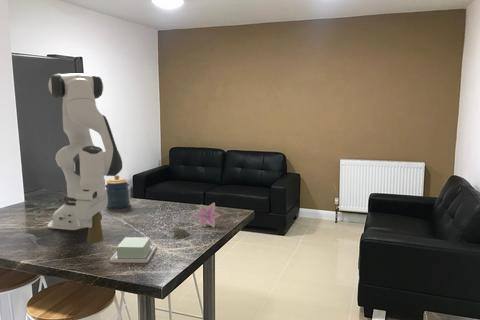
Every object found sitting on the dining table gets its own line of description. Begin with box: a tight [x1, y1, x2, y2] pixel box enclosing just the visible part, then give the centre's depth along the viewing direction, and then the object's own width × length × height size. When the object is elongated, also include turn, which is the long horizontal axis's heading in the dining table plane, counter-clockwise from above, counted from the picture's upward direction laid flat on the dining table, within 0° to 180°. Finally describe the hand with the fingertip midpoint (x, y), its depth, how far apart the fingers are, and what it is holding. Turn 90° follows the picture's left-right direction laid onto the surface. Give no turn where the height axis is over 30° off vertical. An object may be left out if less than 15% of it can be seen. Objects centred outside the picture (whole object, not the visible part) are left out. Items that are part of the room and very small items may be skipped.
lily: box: [192, 202, 221, 228], centre depth 187 cm, size 12×12×10 cm
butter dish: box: [109, 236, 158, 264], centre depth 151 cm, size 14×14×5 cm
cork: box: [86, 212, 104, 244], centre depth 150 cm, size 6×6×11 cm
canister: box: [105, 174, 131, 210], centre depth 217 cm, size 13×13×18 cm
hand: (93, 224), depth 150 cm, fingers closed on cork, 4 cm apart
